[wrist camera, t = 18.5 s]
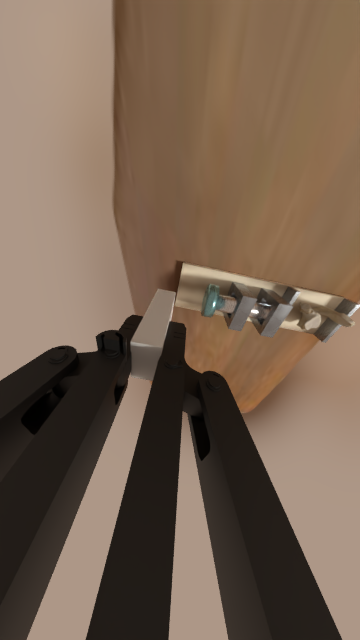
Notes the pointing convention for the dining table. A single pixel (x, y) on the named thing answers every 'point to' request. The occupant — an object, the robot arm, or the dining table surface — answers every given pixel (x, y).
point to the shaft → (228, 304)
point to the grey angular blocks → (276, 311)
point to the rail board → (200, 277)
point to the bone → (313, 317)
